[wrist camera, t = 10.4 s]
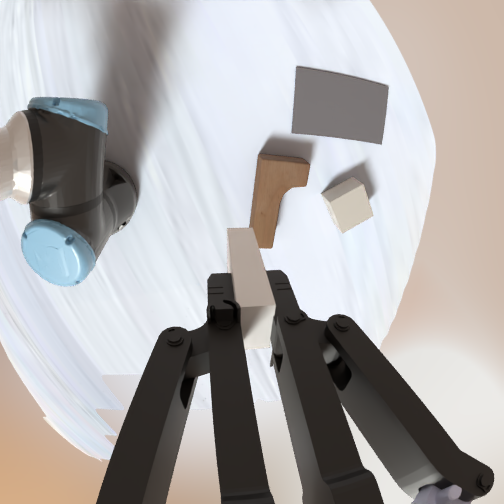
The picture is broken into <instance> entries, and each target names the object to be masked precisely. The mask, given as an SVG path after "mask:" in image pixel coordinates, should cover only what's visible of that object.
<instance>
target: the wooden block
mask: <svg viewBox="0 0 504 504" xmlns="http://www.w3.org/2000/svg"><path fill="white" fill-rule="evenodd" d="M309 169H310V164H309V163H308V162H307V161H305V160H304V159H303V158H295V157H287V156H277V155H267V154H259V155H258V160H257V168H256V176H255V184H254V192H253V200H252V209H251V217H250V225H249V228H253V230H254V233H255V237H256V240H257V243H258V247H259V248H270V249H271V248H272V247H273V242H274V236H275V230H276V224H277V218H278V212H279V206H280V202H281V199H282V197H283V195H284V193H286V192H287V191H288V190H290V189H291V188H293V187H305V186H306V185H307V180H308V175H309Z"/></svg>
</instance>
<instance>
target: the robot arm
mask: <svg viewBox="0 0 504 504" xmlns="http://www.w3.org/2000/svg"><path fill="white" fill-rule="evenodd" d="M107 122H108V108H107V107H106V105H105V104H104V103H102V102H100V101H96V100H88V99H79V98H58V97H35V98H32V99H31V100H30V102H29V104H28V110H24V111H18V112H16V113H15V114H14V115H13V116H12V117H11V119H10V120H9V121H8V123H7V124H6V125H5V126H4V127H2V128H0V201H2V200H5V199H7V198H12V199H14V200H15V201H17V202H18V203H20V204H21V205H25V204H28V203H29V205H30V215H31V222H30V223H29V224H27V225H26V227H25V230H24V232H23V234H22V238H21V247H22V252H23V255H24V257H25V259H26V261H27V263H28V264H29V266H30V267H31V268H32V269H33V270H34V271H35V272H36V273H37V274H39V275H40V276H41V277H42V278H43V279H44V280H46V281H48V282H50V283H52V284H55V285H59V286H74V285H77V284H79V283H80V282H82V281H83V280H84V279H85V278H86V277H87V276H88V274H89V273H90V272H91V271H92V269H93V268H94V266H95V264H96V260H97V259H98V257H99V255H100V253H101V251H102V250H103V248H104V246H105V244H106V242H107V241H108V239H109V237H110V236H111V235H113V234H115V233H117V232H119V231H120V230H122V229H123V228H124V227H125V226H126V225H127V224H128V222H129V221H130V219H131V217H132V216H133V214H134V211H135V208H136V203H137V195H136V190H135V186H134V184H133V181H132V180H131V178H130V176H129V175H128V174H127V173H126V172H125V171H124V170H123V169H122V168H121V167H119V166H118V165H116V164H114V163H111V162H107V161H104V157H105V144H106V135H108V130H107ZM227 269H228V273H216V274H211V275H210V277H209V279H208V280H207V283H208V306H207V321H206V323H205V324H204V325H203V326H201V327H200V328H198V329H195V330H192V331H187V330H186V329H184V328H181V327H170V328H167V329H165V330H164V331H162V333H161V334H160V335H159V337H158V339H157V342H156V344H155V346H154V349H153V351H152V353H151V356H150V358H149V360H148V363H147V365H146V368H145V370H144V372H143V375H142V377H141V380H140V382H139V385H138V387H137V390H136V392H135V395H134V397H133V400H132V402H131V405H130V407H129V410H128V412H127V415H126V418H125V420H124V423H123V426H122V428H121V431H120V434H119V437H118V439H117V442H116V445H115V447H114V450H113V453H112V456H111V459H110V462H109V465H108V468H107V471H106V474H105V477H104V480H103V483H102V486H101V489H100V492H99V496H98V499H97V502H96V504H166V499H167V495H168V491H169V487H170V483H171V479H172V475H173V471H174V466H175V463H176V459H177V455H178V451H179V447H180V443H181V439H182V435H183V431H184V428H185V424H186V420H187V416H188V413H189V409H190V405H191V401H192V398H193V394H194V390H195V386H196V383H197V379H198V376H201V375H204V374H207V373H210V383H211V398H212V412H213V425H214V436H215V446H216V457H217V467H218V476H219V484H220V492H221V504H275V503H274V499H273V496H272V494H271V492H270V489H269V485H268V480H267V475H266V469H265V464H264V459H263V453H262V448H261V442H260V437H259V432H258V426H257V420H256V415H255V409H254V403H253V397H252V391H251V385H250V379H249V373H248V367H247V361H246V354H245V350H248V349H260V348H270V343H271V344H272V348H273V350H272V356H271V362H270V367H272V366H273V364H274V369H275V373H276V377H277V382H278V386H279V390H280V395H281V399H282V403H283V407H284V411H285V416H286V420H287V425H288V429H289V433H290V437H291V442H292V446H293V450H294V454H295V459H296V463H297V467H298V471H299V475H300V479H301V484H302V489H303V496H302V500H303V504H384V503H383V499H382V496H381V493H380V490H379V487H378V484H377V481H376V479H375V477H374V475H373V474H372V472H371V471H369V470H367V469H365V468H364V466H363V465H362V462H361V459H360V456H359V453H358V451H357V448H356V445H355V442H354V439H353V436H352V433H351V430H350V428H349V425H348V422H347V419H346V416H345V413H344V411H343V408H342V405H343V407H344V408H345V409H346V411H347V412H348V414H349V415H350V417H351V418H352V419H353V421H354V423H355V424H356V426H357V427H358V429H359V430H360V431H361V433H362V434H363V436H364V437H365V439H366V440H367V442H368V443H369V444H370V446H371V447H372V449H373V450H374V452H375V453H376V455H377V456H378V458H379V459H380V460H381V462H382V463H383V465H384V466H385V468H386V469H387V471H388V472H389V473H390V475H391V476H392V478H393V479H394V480H395V482H396V483H397V484H398V486H399V487H400V488H401V489H402V490H403V491H404V492H405V493H406V494H408V495H409V496H410V497H411V498H413V499H414V501H413V502H412V503H411V504H470V503H471V502H472V500H475V499H477V498H479V497H482V496H484V495H486V494H487V493H488V492H489V491H490V490H491V488H492V486H493V482H494V473H493V471H492V469H491V468H490V467H488V466H487V465H485V464H483V463H481V462H479V461H478V460H476V459H474V458H473V457H471V456H469V455H468V454H466V453H464V452H462V451H461V450H460V449H459V448H458V447H457V446H456V444H455V443H454V442H453V440H452V439H451V438H450V436H449V435H448V434H447V432H446V431H445V430H444V429H443V427H442V426H441V425H440V424H439V422H438V421H437V420H436V418H435V417H434V416H433V415H432V414H431V412H430V411H429V410H428V409H427V407H426V406H425V405H424V403H423V402H422V401H421V400H420V398H419V397H418V396H417V395H416V394H415V392H414V391H413V390H412V389H411V387H410V386H409V385H408V384H407V383H406V381H405V380H404V379H403V378H402V377H401V375H400V374H399V373H398V372H397V371H396V369H395V368H394V367H393V366H392V365H391V363H390V362H389V361H388V360H387V359H386V358H385V356H384V355H383V354H382V353H381V352H380V350H379V349H378V348H377V347H376V346H375V345H374V343H373V342H372V341H371V340H370V339H369V338H368V336H367V335H366V334H365V333H364V332H363V331H362V330H361V328H360V327H359V326H358V325H357V324H356V323H355V321H354V320H352V319H351V318H350V317H348V316H346V315H341V314H337V315H333V316H331V317H329V319H328V321H320V320H314V319H311V318H309V317H308V316H307V314H306V313H305V312H303V311H302V310H300V308H299V306H298V303H297V300H296V298H295V295H294V293H293V290H292V287H291V285H290V282H289V280H288V277H287V275H286V274H285V273H283V272H282V271H281V270H270V271H266V270H265V267H264V263H263V260H262V257H261V253H260V250H259V247H258V243H257V240H256V237H255V233H254V230H253V228H227ZM341 404H342V405H341Z"/></svg>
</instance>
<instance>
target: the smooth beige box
mask: <svg viewBox="0 0 504 504" xmlns="http://www.w3.org/2000/svg"><path fill="white" fill-rule="evenodd" d="M321 195H322V197H323V200H324V202H325V204H326V207H327V209H328V211H329V213H330V216H331V218H332V221H333V223H334V224H335V225H336V227H337V228H338V229H339V230H340V231H341V233H344V232H346V231H347V230H349V229H351V228H353V227H355V226H356V225H358V224H360V223H362V222H364V221H365V220H367V219H369V218H371V217H372V216H373V212H372V209H371V206H370V203H369V200H368V196H367V193H366V190H365V187H364V184H362V183H361V182H360V181H358V180H357V179H355V178H354V177H351V178H349V179H347V180H346V181H344V182H342V183H340V184H338V185H336V186H334V187H332V188H331V189H329V190H327V191H325V192H323V193H321Z"/></svg>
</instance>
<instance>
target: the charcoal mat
mask: <svg viewBox="0 0 504 504" xmlns="http://www.w3.org/2000/svg"><path fill="white" fill-rule="evenodd" d="M388 89H389V87H387V86H384V85H380V84H377V83H373V82H369V81H366V80H362V79H358V78H353V77H349V76H344V75H340V74H335V73H330V72H324V71H319V70H313V69H306V68H299V67H296V79H295V94H294V108H293V121H292V133H295V134H307V135H317V136H327V137H335V138H343V139H350V140H357V141H364V142H370V143H376V144H381V145H382V139H383V132H384V125H385V117H386V109H387V99H388Z"/></svg>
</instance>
